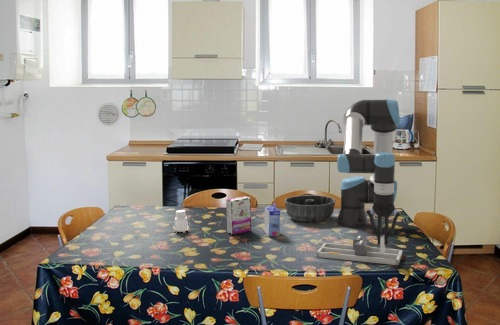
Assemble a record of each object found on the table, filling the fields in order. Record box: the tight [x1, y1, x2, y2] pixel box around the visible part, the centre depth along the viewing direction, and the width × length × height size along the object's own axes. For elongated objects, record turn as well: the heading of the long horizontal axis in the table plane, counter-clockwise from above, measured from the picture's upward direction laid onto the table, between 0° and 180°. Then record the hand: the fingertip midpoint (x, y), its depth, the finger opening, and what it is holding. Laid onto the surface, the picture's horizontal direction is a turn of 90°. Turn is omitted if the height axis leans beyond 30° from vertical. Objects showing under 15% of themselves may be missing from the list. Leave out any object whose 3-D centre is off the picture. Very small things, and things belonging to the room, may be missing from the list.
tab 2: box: [355, 241, 368, 256], centre depth 225 cm, size 4×4×7 cm
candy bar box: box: [225, 196, 252, 235], centre depth 269 cm, size 11×5×16 cm, turn 126°
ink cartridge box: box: [263, 202, 281, 237], centre depth 265 cm, size 10×6×14 cm, turn 11°
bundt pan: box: [283, 194, 337, 223], centre depth 294 cm, size 26×26×10 cm
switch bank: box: [315, 242, 403, 266], centre depth 228 cm, size 14×32×4 cm, turn 69°
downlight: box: [172, 209, 191, 231], centre depth 272 cm, size 8×7×10 cm
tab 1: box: [352, 235, 366, 250], centre depth 231 cm, size 4×4×7 cm
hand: (382, 252), depth 221 cm, fingers closed
